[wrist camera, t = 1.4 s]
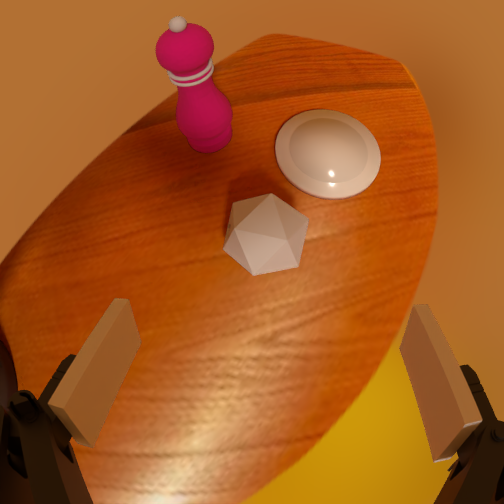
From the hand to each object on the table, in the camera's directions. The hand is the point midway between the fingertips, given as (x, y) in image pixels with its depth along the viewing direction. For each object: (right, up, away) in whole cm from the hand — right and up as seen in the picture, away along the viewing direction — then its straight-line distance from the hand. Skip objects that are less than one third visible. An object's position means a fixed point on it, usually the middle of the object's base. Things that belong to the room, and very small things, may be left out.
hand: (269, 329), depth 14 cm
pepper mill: (-7, +19, +29) cm, 35 cm away
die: (+1, +4, +24) cm, 24 cm away
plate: (+9, +16, +27) cm, 33 cm away
